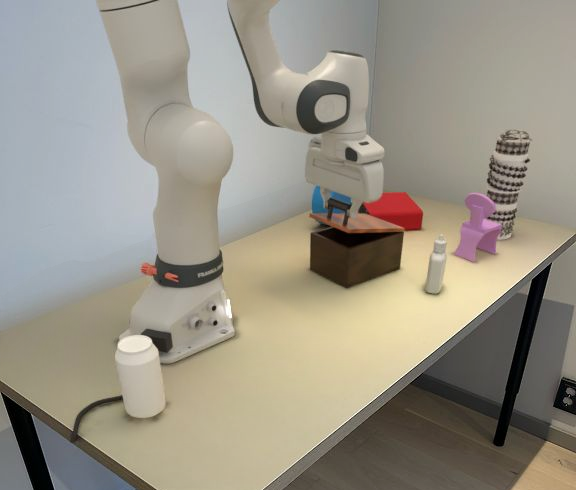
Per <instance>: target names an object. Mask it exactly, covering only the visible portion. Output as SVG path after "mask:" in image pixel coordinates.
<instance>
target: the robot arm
mask: <svg viewBox="0 0 576 490" xmlns="http://www.w3.org/2000/svg"><path fill="white" fill-rule="evenodd" d="M280 1H281V0H226V5H227V12H228V15H229V19H230V23H231V25H232V28H233V31H234V34H235V37H236V40H237V43H238V46H239V48H240V51H241V54H242V57H243V59H244V62H245V65H246V69H247V71H248V73H249V76H250V81H251V86H252V87H251V88H252V95H253V96H252V97H253V103H254V107H255V111H256V113H257V115H258V117H259V118H260V120H261V121H262V122H263V123H265V124H266V125H268V126H271V127H276V128H281V129H282V128H283V129H288V130H291V131H294V132H300V133H303V134H307V135H320V137H318V136H314V137H312V138H311V139H310V141H309V142H308V149H307V152H306V155H305V164H304V178H305V181H306V182H307V183H309V184H311V185H314V186H316V185H317V186H320V193H321V196H322V198H323V200H324V204H323V207H324V208H325V209H328V210H329V205H328V200H329V198H331V194H330V191H334V192H337V193H339V194H342V195H345V196H348V197H351V203H353V204H352V206H351V208H350V209H347V217H348V218H351V219H355V218H357V216H358V209H359V208H360V206H361V204H362V203H363V202H365V203H371V202H375V201H378V200H379V199H380V197H381V196H382V193H384V192H383V191H384V181H385V180H384V176H385V174H384V173H385V170H384V164H383V162H382V161H381V160H383V159H384V158H385V154H386V153H385V152H386V151H385V148H384V147H383V146H382V145H381V144H379V143H378V142H377V141H375V140H374V138H373V137H371V136H370V135H369V134H367V128H368V127H367V121H366V112H367V109H368V106H369V97H370V96H369V95H370V94H369V93H370V75H369V74H370V72H369V65H368V62H367V61H368V60H367V59H366V57H364V56H363V55H362V54H360V53H358V52H357V53H355V52H352V51H351V52H350V51H345V50H337V49H336V50H334V49H333V50H330V51H327V52H326V54H325V57H324V59H323V60H322V61H321V62H320V63H319V64H318V65H316V66H315V67H314V68H312V69H311V70H310V71H307V72H305V73H299V72H294V71H292V70H291V69H289V68H288V67H287V66H286V65H285V64H284V62H282V60H281V57H280V53H279V51H278V50H279V49H278V47H277V43H276V41H275V37H274V34H273V30H272V28H271V24H270V11H271V9H273V8H274V7H275V6H276V5H277V4H278V3H279V2H280ZM95 2H96V6H97V8H98V11H99V14H100V18H101V21H102V24H103V27H104V30H105V34H106V36H107V40H108V42H109V46H110V49H111V52H112V55H113V58H114V62H115V64H116V68H117V71H118V76H119V81H120V85H121V91H122V97H123V98H122V99H123V104H124V109H125V115H126V119H127V123H126V130H127V136H128V138H129V140H130V143H131V145H132V146H133V148H134V150H135V152H136V153H137V154H138V155H139V156H140V158H141V159H142V160H143V161H145V162H146V163H148V164H149V165H151V166H153V167H154V168H155V170H156V174H157V181H158V182H157V185H158V186H157V197H156V198H157V199H156V205H155V206H154V208H153V211H152V220H153V227H154V235H155V244H156V247H157V248H156V249H157V254H156V257H155V262H154V264H150V263H148V262H144V263H142V264H141V266H140V271H141V273H142V274H143V275H146V276H149V277H152V280H151V282H150V283H149V284H148V286H147V287H146V289H145V290H144V292H142V294H141V295H140V297H138V300H137V301H136V302H135V303H134V305H133V306H132V308H131V309H130V313H129V328H128V329H126V330H125V331H123V332H122V333H121V334H119V336H118V342H119V341H120V340H122V339H123V338H125V337H128V336H132V335H144V336H147V337H149V338H151V340H152V343H153V344H154V345H155V346H156V348H157V349H158V353H159V360H160V364H173V363H176V362H178V361H181V360H183V359H185V358H187V357H190V356H192V355H195V354H197V353H199V352H202V351H203V350H206V349H209V348H210V347H213V346H216V345H217V344H219V343H220V344H221V343H222V342H224V341H226V340H228V339H231V338H233V337H235V336H236V330H235V327H234V316H233V315H232V311H231V304H230V303H231V302H230V299H228V295H227V292H226V288H225V284H224V278H223V273H224V269H225V268H224V264H225V262H224V259H223V252H222V250H221V249H220V236H219V223H218V222H219V219H218V211H219V210H218V207H219V200H220V192H221V187H222V183H223V179H224V178H225V177H226V176H227V175H228V172H229V171H230V169H231V167H232V165H233V160H234V145H233V141H232V139H231V136H230V134H229V132H228V131H227V130H226V129H225V127H223V126H222V125H221V123H220V122H219V121H217V119H216V118H214V117H213V116H212V115H211V114H209V113H207V112H206V111H204V110H201V109H198V108H195V107H194V106H193V103H192V100H191V98H190V92H189V75H188V68H189V67H188V65H189V62H190V59H191V49H190V45H189V41H188V38H187V33H186V30H185V25H184V21H183V17H182V13H181V9H180V5H179V1H178V0H95ZM333 208H334V207H333ZM119 401H123V396H122V394H121V395H117V396H111V397H107V398H102V399H99V400H95V401H94V402H91V403H90V404H88V405H87V406H85V407H83V408H82V409H81V410H80V411H79V412H78V414H77V415H76V417H75V419H74V424H73V428H72V433H71V438H70V443H71V444H74V443H76V442H77V438H78V434H79V428H80V426H81V425H80V424H81V422H82V419H83V417H84V416H85V415H86V414H87V413H88V412H90V411H91V410H92V409H94V408H96V407H99V406H101V405H105V404H109V403H114V402H119Z"/></svg>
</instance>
